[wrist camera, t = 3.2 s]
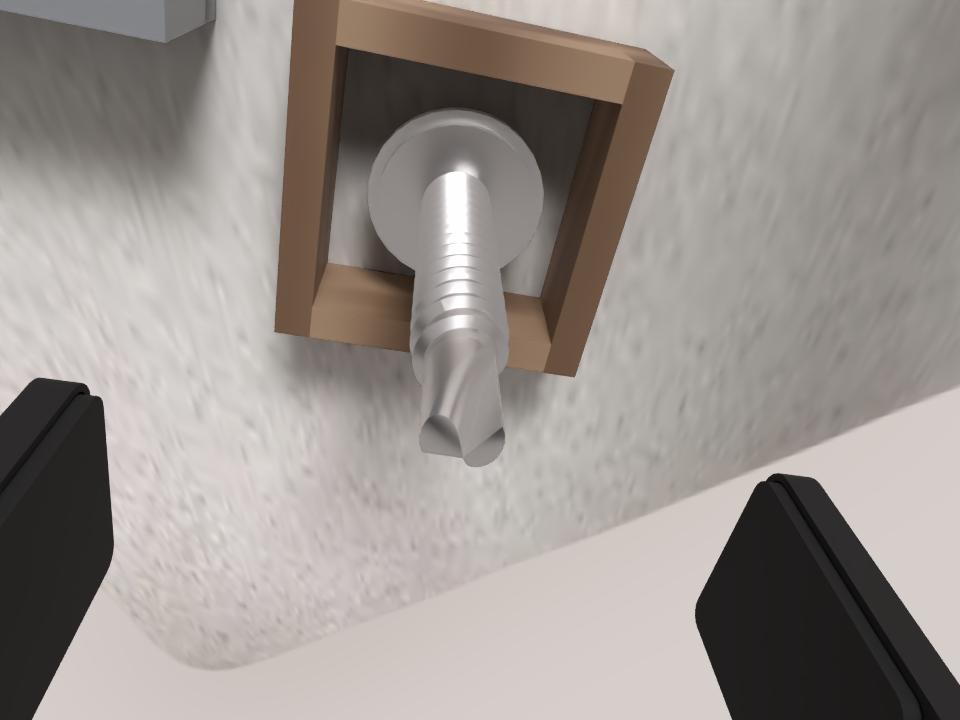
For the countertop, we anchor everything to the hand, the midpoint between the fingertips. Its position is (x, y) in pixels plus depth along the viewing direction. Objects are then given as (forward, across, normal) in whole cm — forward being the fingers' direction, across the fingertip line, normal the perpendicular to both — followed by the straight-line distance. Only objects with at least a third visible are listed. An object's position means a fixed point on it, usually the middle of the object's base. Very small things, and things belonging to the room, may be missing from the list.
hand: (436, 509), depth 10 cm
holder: (+14, 0, -1) cm, 14 cm away
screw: (+14, 0, -1) cm, 14 cm away
